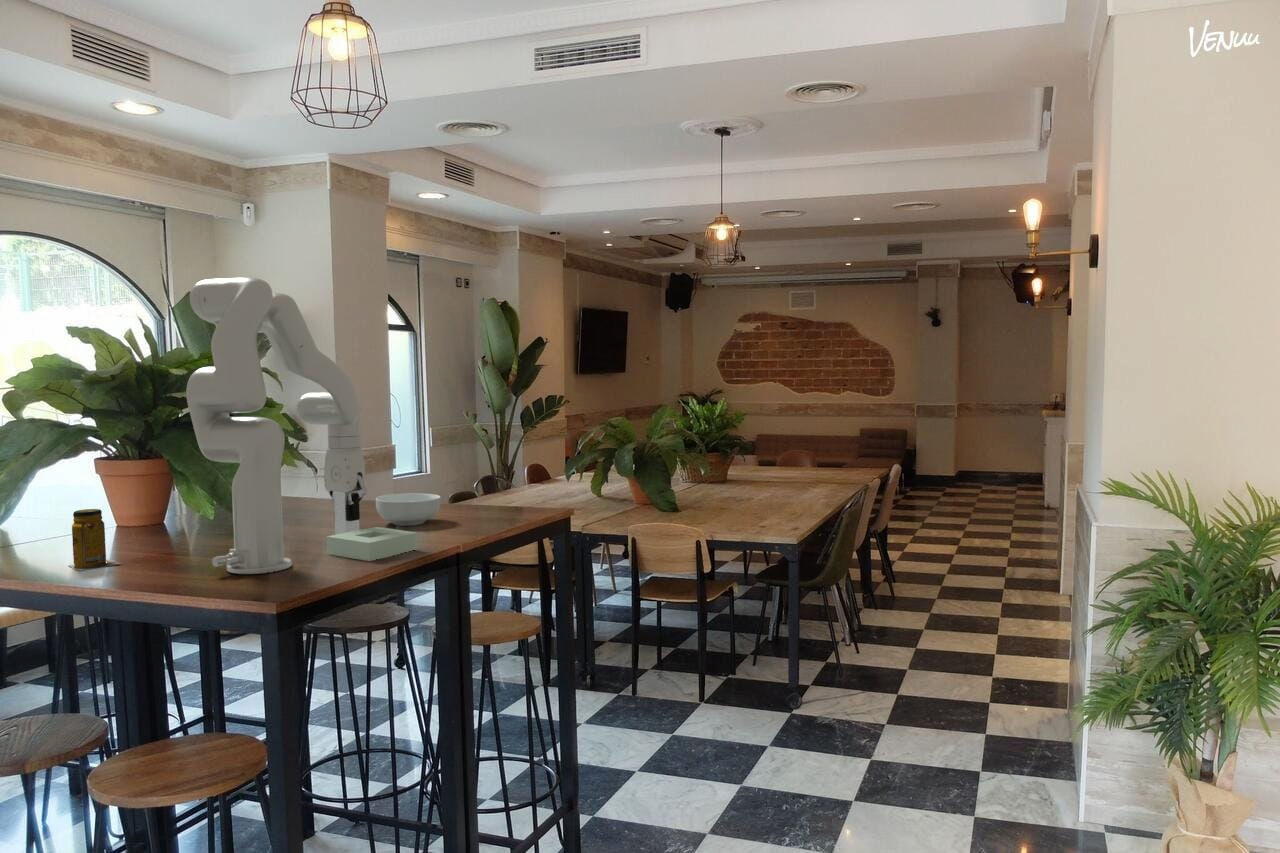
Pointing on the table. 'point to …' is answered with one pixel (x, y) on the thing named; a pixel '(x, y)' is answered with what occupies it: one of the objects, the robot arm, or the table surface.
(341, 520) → the white rectangular block
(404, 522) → the cereal bowl
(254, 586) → the table surface
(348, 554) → the green square socket block
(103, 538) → the condiment
